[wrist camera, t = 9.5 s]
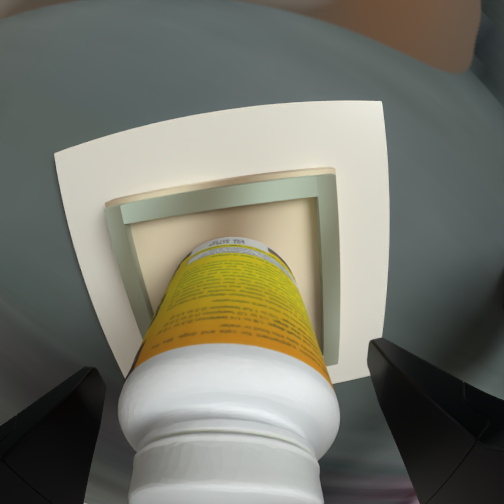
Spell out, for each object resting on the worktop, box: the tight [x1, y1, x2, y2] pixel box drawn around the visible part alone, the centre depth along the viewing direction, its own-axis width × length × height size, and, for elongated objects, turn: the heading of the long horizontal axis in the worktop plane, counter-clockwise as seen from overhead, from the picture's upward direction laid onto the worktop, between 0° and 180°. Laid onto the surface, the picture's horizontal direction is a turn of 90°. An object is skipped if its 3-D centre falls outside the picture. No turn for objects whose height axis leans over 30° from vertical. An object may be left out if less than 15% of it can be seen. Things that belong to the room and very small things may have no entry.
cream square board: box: [54, 101, 389, 384], centre depth 15 cm, size 16×16×1 cm
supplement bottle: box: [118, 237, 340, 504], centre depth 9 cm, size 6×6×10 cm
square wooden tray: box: [104, 167, 340, 366], centre depth 14 cm, size 10×10×2 cm
